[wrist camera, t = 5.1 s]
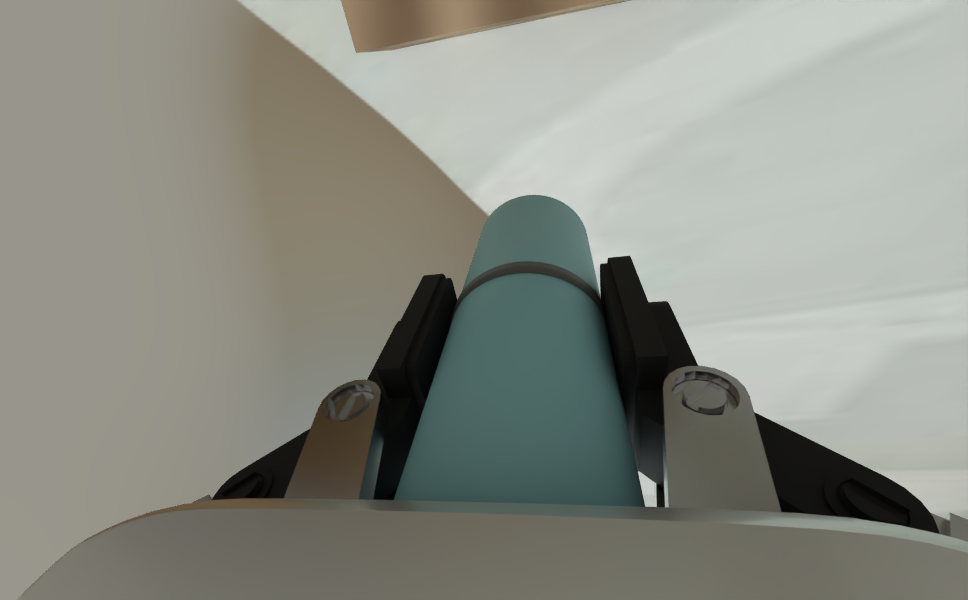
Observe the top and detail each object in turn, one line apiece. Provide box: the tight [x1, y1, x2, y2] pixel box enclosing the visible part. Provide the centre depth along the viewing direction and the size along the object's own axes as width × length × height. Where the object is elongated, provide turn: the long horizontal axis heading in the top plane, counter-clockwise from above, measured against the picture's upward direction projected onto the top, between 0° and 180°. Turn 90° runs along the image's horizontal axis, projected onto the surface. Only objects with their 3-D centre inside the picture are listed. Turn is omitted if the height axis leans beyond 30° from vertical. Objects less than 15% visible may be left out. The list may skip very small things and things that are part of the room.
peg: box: [394, 195, 645, 507], centre depth 10 cm, size 4×4×12 cm
